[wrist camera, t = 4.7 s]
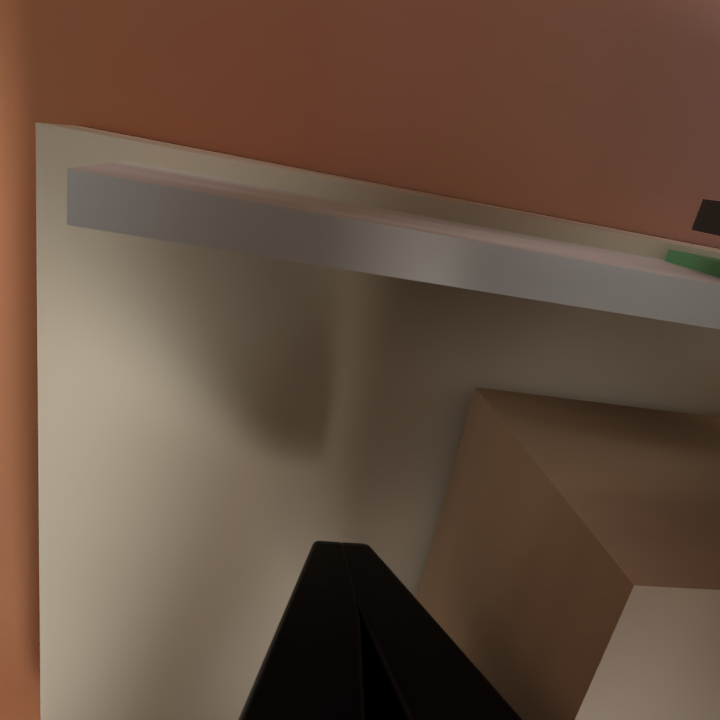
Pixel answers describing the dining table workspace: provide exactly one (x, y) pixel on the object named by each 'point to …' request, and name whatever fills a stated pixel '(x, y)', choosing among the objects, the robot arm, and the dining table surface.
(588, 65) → the dining table surface
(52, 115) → the dining table surface
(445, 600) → the gauge carriage
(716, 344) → the base
